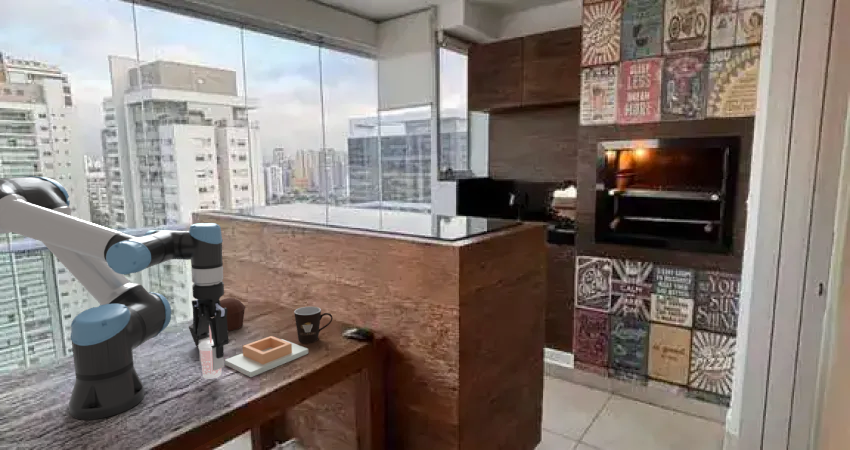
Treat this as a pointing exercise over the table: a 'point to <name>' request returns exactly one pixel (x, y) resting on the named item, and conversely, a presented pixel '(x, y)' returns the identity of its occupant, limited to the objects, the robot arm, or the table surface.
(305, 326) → the coffee mug
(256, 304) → the table surface
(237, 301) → the muffin
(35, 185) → the robot arm
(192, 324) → the electrical switch
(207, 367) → the beverage cup
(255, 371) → the cup holder
